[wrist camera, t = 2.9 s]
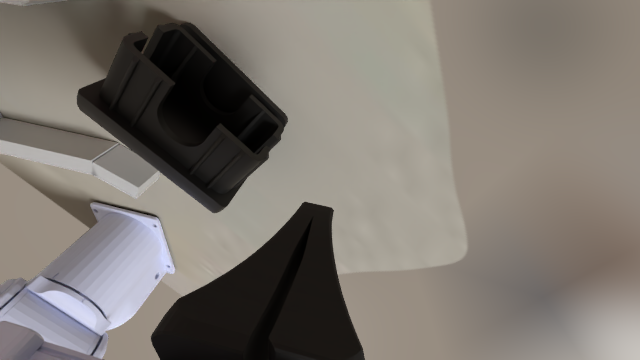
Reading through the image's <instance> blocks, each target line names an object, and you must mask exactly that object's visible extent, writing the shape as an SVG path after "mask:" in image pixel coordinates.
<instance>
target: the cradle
mask: <svg viewBox="0 0 640 360" xmlns="http://www.w3.org/2000/svg"><path fill="white" fill-rule="evenodd" d="M60 1H67V0H0V2H1V3H7V4H13V5H19V6H29V5H37V4H45V3H52V2H60ZM0 153H1V154H5V155H9V156H14V157H18V158H22V159H26V160H31V161H35V162H39V163H43V164H48V165H52V166H56V167H60V168H65V169H69V170H73V171H77V172H82V173H86V174H90V175H93V176H95V177H97V178H99V179H101V180H102V181H104V182H106V183H108V184H110V185H111V186H113V187H115V188H117V189H119V190H121V191H122V192H124V193H126V194H128V195H130V196H131V197H133V198H135V199H137V198H138V197H139V196H140V195H141V194H142V193H143V192H144V191H146V190H147V189H148V188H149V187H150V186H151V185H152V184H153V183H154V182H155V181H157V180H158V178H159V175H160V172H159V171H158V170H157V169H156V168H154V167H153V166H152V165H150V164H149V163H148V162H147V161H145V160H144V159H143V158H141V157H140V156H139V155H137V154H136V153H134V152H133V151H131V150H129V149H127V148H126V147H124V146H122V145H121V144H120V145H119V143H117V142H113V141H108V140H104V139H99V138H95V137H90V136H85V135H81V134H76V133H72V132H67V131H63V130H58V129H54V128H49V127H44V126H40V125H35V124H31V123H26V122H22V121H17V120H12V119H8V118H3V116H2V114H1V113H0Z"/></svg>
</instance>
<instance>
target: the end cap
mask: <svg viewBox="0 0 640 360" xmlns="http://www.w3.org/2000/svg"><path fill="white" fill-rule="evenodd" d="M147 39H148V37H147V36H146V35H145V34H144V33H143V32H142V31H141V32H138V33H129V34H128V35H127V36H125V37H124V38H123V40H122V42H121V45H120V47H119V49H118V52H117V54H116V56H115V58H114V61H113V63H112V65H111V68H110V70H109V72H108V75H107V77H106V78H105V79H103V80H100V81H98V82H95V83H93V84H90V85H88V86H86V87H83V88H81V89H79V91H78V95H77V105H78V107H79V109H80V110H81V111H82V112H83V113H85V114H86V115H87V116H89V117H90V118H91V119H92V120H94V121H95V122H96V123H98V124H99V125H100V126H101V127H103V128H104V129H105V130H107V131H108V132H109V133H110V134H112V135H113V136H114V137H116V138H117V139H118V140H119V141H121V142H122V143H123V144H125V145H126V146H127V147H128V148H130V149H131V150H132V151H134V152H135V153H136V154H137V155H139V156H140V157H141V158H143V159H144V160H145V161H147V162H148V163H149V164H150V165H152V166H153V167H154V168H156V169H157V170H158V171H159V172H161V173H162V174H163V175H165V176H166V177H167V178H168V179H170V180H171V181H172V182H174V183H175V184H176V185H177V186H179V187H180V188H181V189H183V190H184V191H185V192H186V193H188V194H189V195H190V196H192V197H193V198H194V199H195V200H197V201H198V202H199V203H201V204H202V205H203V206H204V207H206V208H207V209H208V210H210V211H211V212H212V213H218V212H220V211H221V210H223V209H224V208H225V207H226V206H227V205H228V204H229V203H230V201H231V200H232V198H233V197H234V196H235V194H236V193H237V191H238V190H239V188H240V187H241V186H242V184H243V183H244V181H245V180H246V179H247V177H248V176H249V175H251V174H252V173H253V172H254V171H255V170H256V169H257V168H258V167H259V166H261V165H262V164H263V163H264V162H265V161H266V160H267V159H268V158H269V151H270V150H271V149H272V148H273V147H274V146H275V145H276V144H277V143H278V142H279V141H280V140H281V134H282V132H283V130H284V127H285V125H286V124H287V122H288V118H287V116H286V115H285V113H284V112H283V111H281V110H280V109H279V108H278V107H277V106H276V105H275V104H274V103H273V102H272V101H271V100H270V99H269V98H268V97H267V96H266V95H265V94H264V93H263V92H262V91H261V90H260V89H259V88H258V87H257V86H256V85H255V84H254V83H253V82H252V81H251V80H250V79H249V78H248V77H247V76H246V75H245V74H244V73H243V72H242V71H241V70H240V69H239V68H238V67H236V66H235V65H234V64H233V63H232V62H231V61H230V60H229V59H228V58H227V57H226V56H225V55H224V54H223V53H222V52H221V51H220V50H219V49H218V48H217V47H216V46H215V45H214V44H213V43H212V42H211V41H210V40H209V39H208V38H207V37H206V36H205V35H204V34H203V33H202V32H201V31H200V30H199V29H198V28H197V27H196V26H194V25H193V24H191V23H184V24H181V25H180V26H179V25H177V24H174V23H169V24H166V25H158V26H157V28H156V30H155V32H154V34H153V36H152V38H151V40H150V42H149V44H148V46H147V48H146V50H145V52H144V54H142V53H141V51H142V49H143V47H144V45H145V43H146V41H147Z"/></svg>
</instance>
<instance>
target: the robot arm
mask: <svg viewBox="0 0 640 360" xmlns="http://www.w3.org/2000/svg"><path fill="white" fill-rule="evenodd" d="M90 207H91V209H92V211H93V213H94V215H95V217H96V219H97V221H98V222H97V223H96V224H95V225H94V226H93V227H92V228H91V229H89V230H88V231H87V232H86V233H85V234H84V235H83V236H81V237H80V238H79V239H78V240H77V241H76V242H74V243H73V244H72V245H71V246H70V247H69V248H68V249H66V250H65V251H64V252H63V253H62V254H61V255H60V256H58V257H57V258H56V259H55V260H54V261H53V262H51V263H50V264H49V265H48V266H47V267H46V268H44V269H43V270H42V271H41V272H40V273H39V274H38V275H36V276H35V277H34V278H33V279H31V280H29V281H26V280H24V279H23V278H18V279H11V280H6V281H5V282H3V283H2V284H1V285H0V360H104V359H102V357H103V355H104V354H105V351H106V349H107V342H108V334H107V333H105V331H106V330H111V329H114V328H116V327H118V326H120V325H122V324H123V323H125V322H126V321H128V320H129V319H130V318H131V317H132V316H133V315H134V314H135V313H136V312H137V311H138V309H139V308H140V307H141V305H142V304H143V303H144V301H145V300H146V299H147V297H148V296H149V294H150V293H151V292H152V291H153V289H154V288H155V287H156V285H157V284H158V283H159V281H160V280H161V279H162V277H163V276H164V275H165V273H166V272H167V273H170V274H173V273H174V272H175V268H174V264H173V261H172V258H171V255H170V252H169V249H168V246H167V242H166V239H165V236H164V233H163V230H162V227H161V223H160V220H159V219H158V218H157V217H154V216H150V215H146V214H142V213H138V212H134V211H130V210H125V209H121V208H117V207H113V206H109V205H105V204H101V203H97V202H93V203H91V204H90ZM333 211H334V210H333V209H332V208H330V207H326V206H322V205H317V204H313V203H308V202H304V203H302V205H301V206H300V207H299V209H298V210H297V211H296V213H295V214H294V215H293V216H292V217H291V218H290V220H289V221H288V222H287V223H286V224H285V225H284V226H283V227H282V228H281V229H280V230H279V231H278V232H277V233H276V234H275V235H274V236H273V237H272V238H271V239H270V240H269V241H268V242H267V243H265V244H264V245H263V246H262V247H261V248H260V249H258V250H257V251H256V252H255V253H254V254H252V255H251V256H250V257H248V258H247V259H246V260H244V261H243V262H242V263H240V264H239V265H237V266H236V267H235V268H233V269H232V270H230V271H228V272H227V273H225V274H224V275H222V276H220V277H219V278H217V279H215V280H214V281H212V282H210V283H209V284H207V285H205V286H203V287H201V288H199V289H197V290H195V291H193V292H191V293H189V294H187V295H185V296H183V297H181V298H179V299H178V300H177V301H176V302H175V303H174V305H173V306H172V307H171V308H170V309H169V311H168V312H167V313H166V314H165V316H164V317H163V319H162V320H161V322H160V323H159V325H158V326H157V328H156V329H155V331H154V332H153V334H152V336H151V341H152V344H153V346H154V348H155V350H156V352H157V354H158V356H159V358H160V360H365V358H364V353H363V348H362V346H361V343H360V341H359V339H358V337H357V334H356V332H355V329H354V327H353V324H352V322H351V319H350V316H349V314H348V310H347V307H346V304H345V301H344V298H343V295H342V291H341V287H340V283H339V279H338V275H337V270H336V265H335V259H334V253H333V244H332V217H333Z"/></svg>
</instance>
